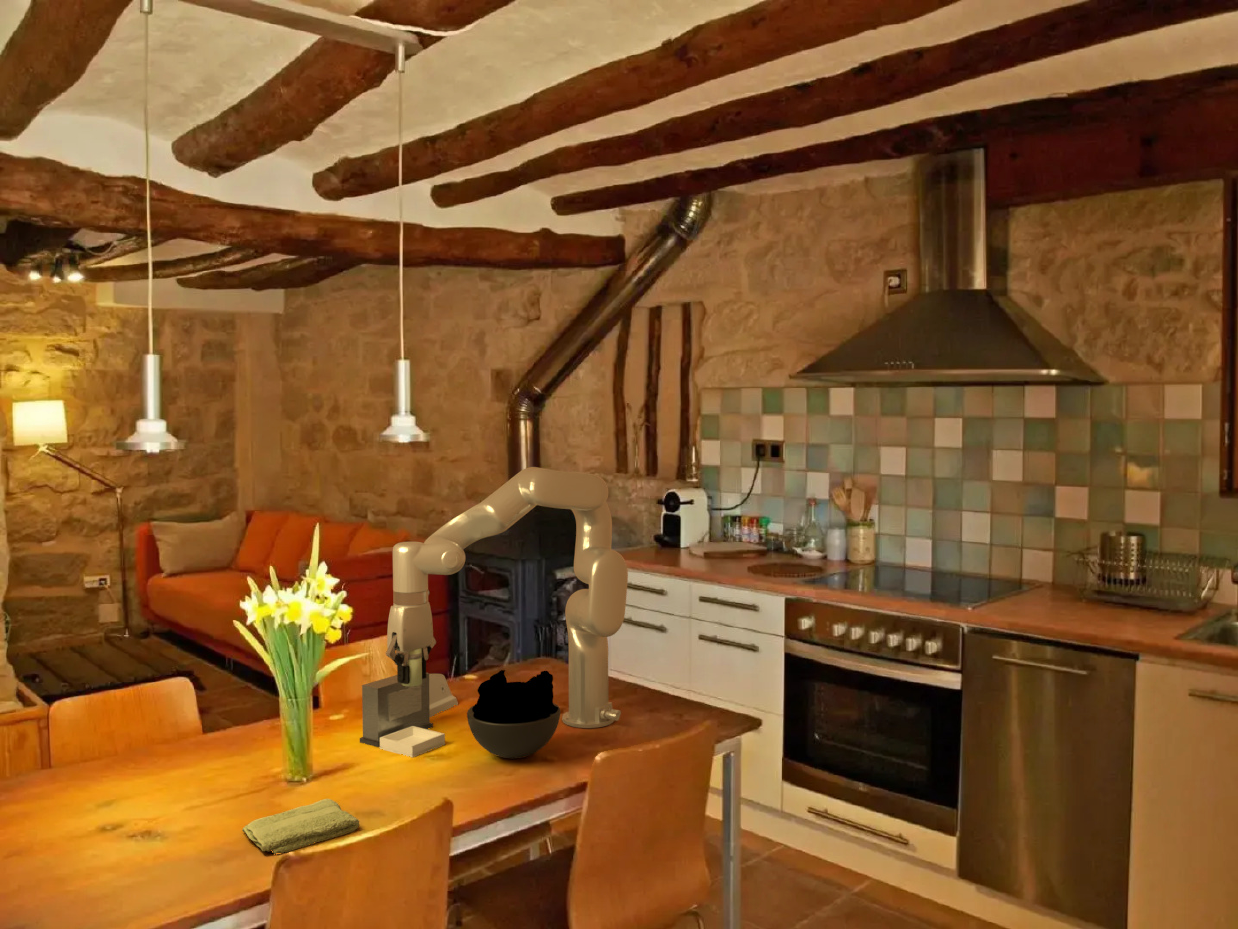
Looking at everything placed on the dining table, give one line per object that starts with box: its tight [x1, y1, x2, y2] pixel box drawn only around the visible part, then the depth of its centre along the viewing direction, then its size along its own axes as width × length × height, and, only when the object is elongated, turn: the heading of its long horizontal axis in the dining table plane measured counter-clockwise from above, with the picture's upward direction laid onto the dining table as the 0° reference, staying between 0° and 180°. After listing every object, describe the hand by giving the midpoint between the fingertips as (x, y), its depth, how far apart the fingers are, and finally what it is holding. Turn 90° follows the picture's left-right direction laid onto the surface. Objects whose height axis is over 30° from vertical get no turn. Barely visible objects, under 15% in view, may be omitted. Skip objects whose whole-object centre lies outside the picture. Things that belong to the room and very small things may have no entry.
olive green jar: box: [401, 648, 422, 687], centre depth 227 cm, size 5×5×8 cm
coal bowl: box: [466, 669, 561, 759], centre depth 221 cm, size 20×20×19 cm
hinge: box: [429, 673, 459, 718], centre depth 254 cm, size 17×5×10 cm, turn 155°
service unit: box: [359, 671, 434, 748], centre depth 236 cm, size 6×17×13 cm, turn 146°
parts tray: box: [379, 726, 446, 758], centre depth 228 cm, size 10×10×2 cm
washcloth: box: [241, 798, 360, 854], centre depth 182 cm, size 13×18×3 cm
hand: (411, 679), depth 227 cm, fingers closed on olive green jar, 4 cm apart
